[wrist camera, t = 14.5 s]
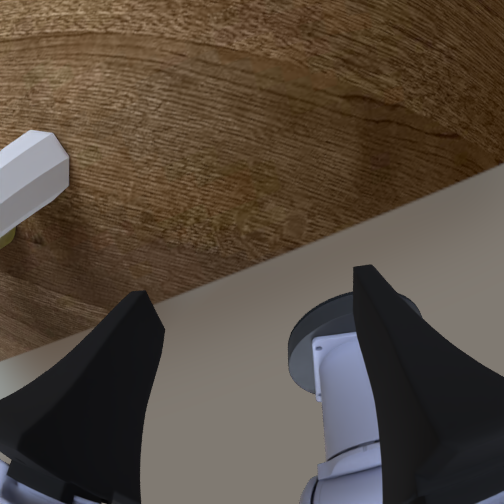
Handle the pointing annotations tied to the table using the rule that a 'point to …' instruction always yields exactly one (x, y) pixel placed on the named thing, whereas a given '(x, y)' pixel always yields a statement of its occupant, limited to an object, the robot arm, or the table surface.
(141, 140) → the table surface
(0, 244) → the vase
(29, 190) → the pepper shaker
